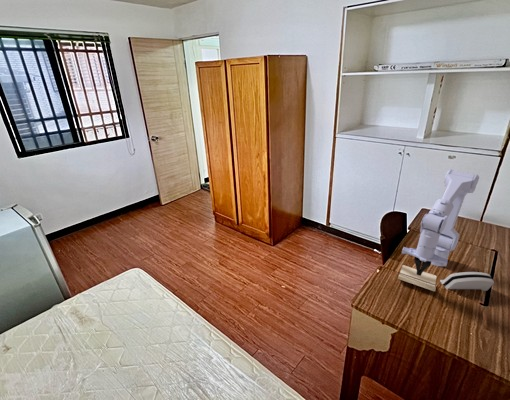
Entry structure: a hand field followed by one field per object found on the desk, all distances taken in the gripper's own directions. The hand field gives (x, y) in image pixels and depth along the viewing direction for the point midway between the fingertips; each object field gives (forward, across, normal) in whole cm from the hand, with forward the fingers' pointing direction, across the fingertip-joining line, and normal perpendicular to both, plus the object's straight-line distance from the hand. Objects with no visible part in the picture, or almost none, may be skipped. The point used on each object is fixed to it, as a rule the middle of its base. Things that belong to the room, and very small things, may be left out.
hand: (418, 273), depth 105 cm
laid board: (+8, 0, +10) cm, 13 cm away
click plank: (+7, 0, +2) cm, 7 cm away
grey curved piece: (+9, +16, +12) cm, 22 cm away
